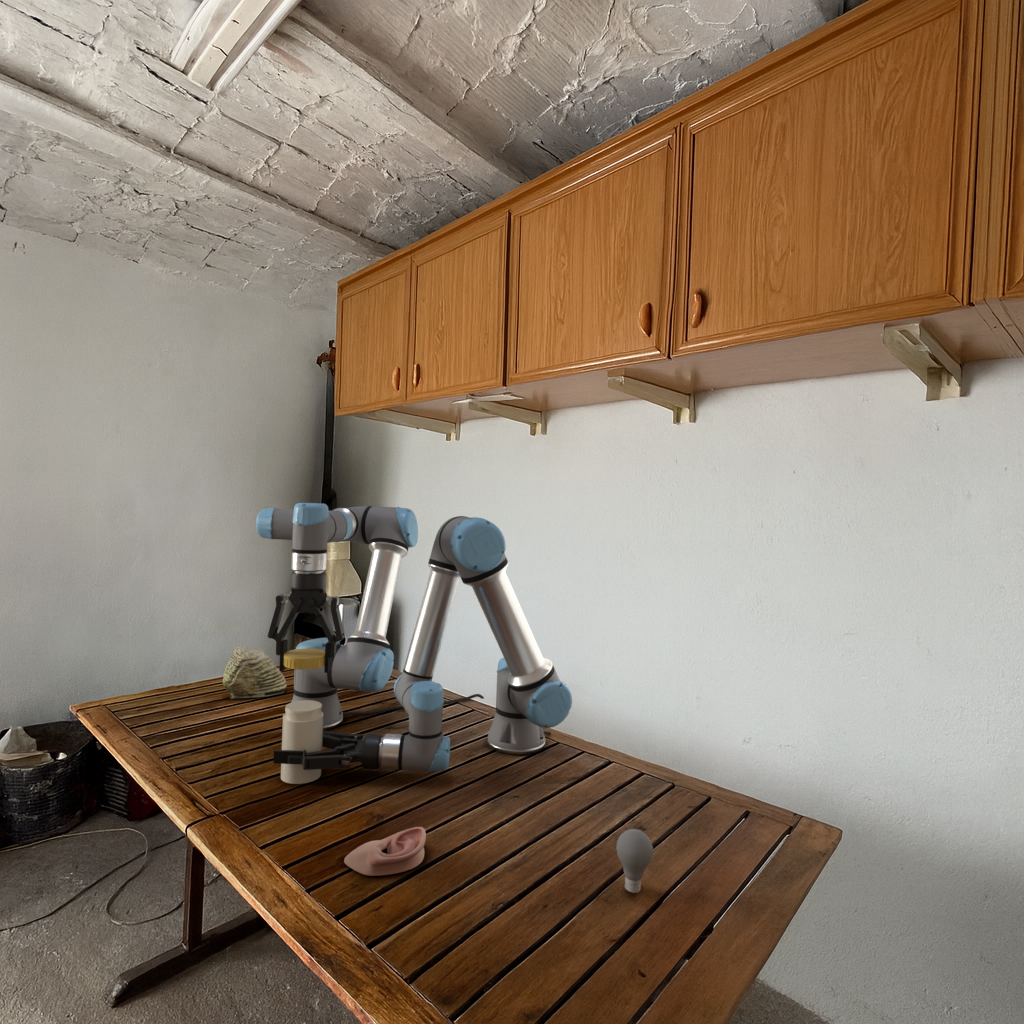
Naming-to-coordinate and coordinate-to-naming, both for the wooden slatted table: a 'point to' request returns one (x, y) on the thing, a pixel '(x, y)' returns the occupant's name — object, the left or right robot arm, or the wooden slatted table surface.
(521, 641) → the right robot arm
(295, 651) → the lid
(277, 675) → the fossil
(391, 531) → the left robot arm
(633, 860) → the light bulb
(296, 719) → the jar
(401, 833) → the anatomical model
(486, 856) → the wooden slatted table surface
